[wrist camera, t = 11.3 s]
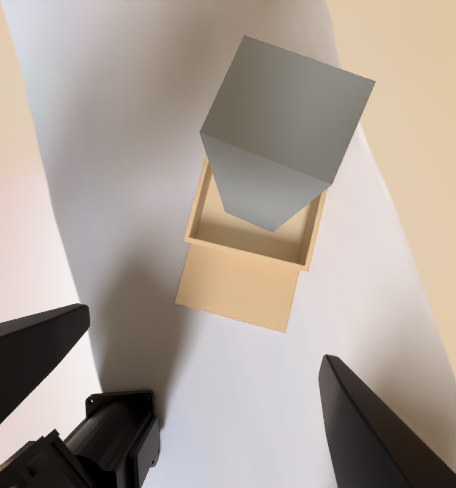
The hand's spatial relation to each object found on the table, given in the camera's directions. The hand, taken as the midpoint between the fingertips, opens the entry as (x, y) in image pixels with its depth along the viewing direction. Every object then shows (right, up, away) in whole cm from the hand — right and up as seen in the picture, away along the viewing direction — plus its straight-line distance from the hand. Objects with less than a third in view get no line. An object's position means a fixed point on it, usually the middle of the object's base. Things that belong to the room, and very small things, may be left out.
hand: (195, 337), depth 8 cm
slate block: (+4, +7, +13) cm, 15 cm away
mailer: (+3, +5, +13) cm, 14 cm away
